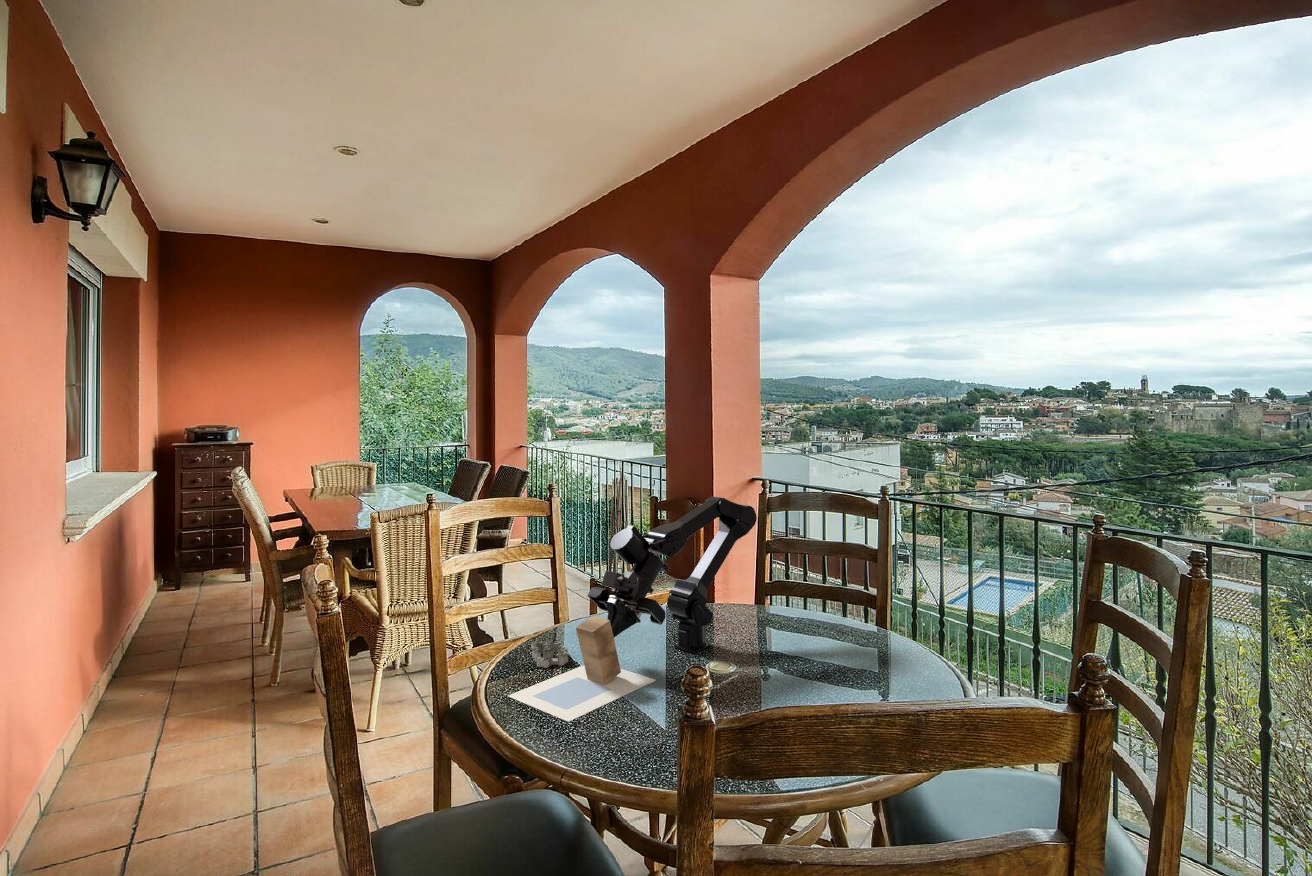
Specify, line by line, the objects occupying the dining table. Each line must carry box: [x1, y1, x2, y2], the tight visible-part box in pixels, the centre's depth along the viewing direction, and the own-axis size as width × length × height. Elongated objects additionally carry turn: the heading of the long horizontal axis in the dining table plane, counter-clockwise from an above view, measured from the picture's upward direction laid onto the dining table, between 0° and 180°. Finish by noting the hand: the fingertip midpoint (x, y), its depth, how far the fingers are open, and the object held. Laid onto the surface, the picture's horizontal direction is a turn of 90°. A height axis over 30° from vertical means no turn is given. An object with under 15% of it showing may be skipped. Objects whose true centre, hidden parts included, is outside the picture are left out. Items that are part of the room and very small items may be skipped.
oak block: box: [575, 615, 622, 685], centre depth 141 cm, size 5×5×12 cm
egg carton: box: [530, 640, 569, 669], centre depth 155 cm, size 11×8×4 cm
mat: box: [507, 664, 657, 723], centre depth 138 cm, size 24×18×1 cm
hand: (606, 639), depth 143 cm, fingers closed
